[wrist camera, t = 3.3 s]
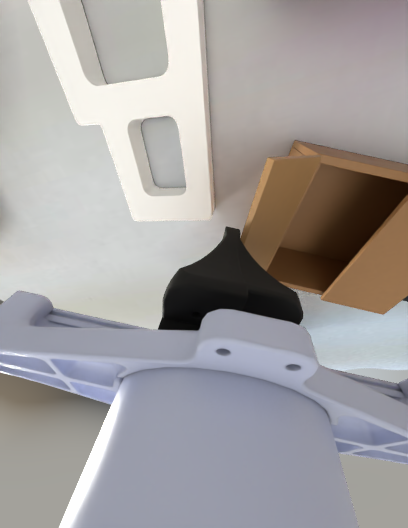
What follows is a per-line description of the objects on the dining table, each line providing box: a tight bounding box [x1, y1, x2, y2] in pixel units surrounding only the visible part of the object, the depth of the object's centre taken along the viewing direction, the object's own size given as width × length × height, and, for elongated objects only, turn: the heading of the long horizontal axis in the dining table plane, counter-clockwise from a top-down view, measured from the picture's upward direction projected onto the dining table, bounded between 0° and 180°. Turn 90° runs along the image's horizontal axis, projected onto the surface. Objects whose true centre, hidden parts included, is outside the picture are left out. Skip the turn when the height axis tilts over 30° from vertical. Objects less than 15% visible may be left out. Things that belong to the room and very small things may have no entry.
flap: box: [240, 155, 322, 271], centre depth 13 cm, size 6×11×1 cm
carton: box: [266, 140, 408, 314], centre depth 17 cm, size 12×11×8 cm
